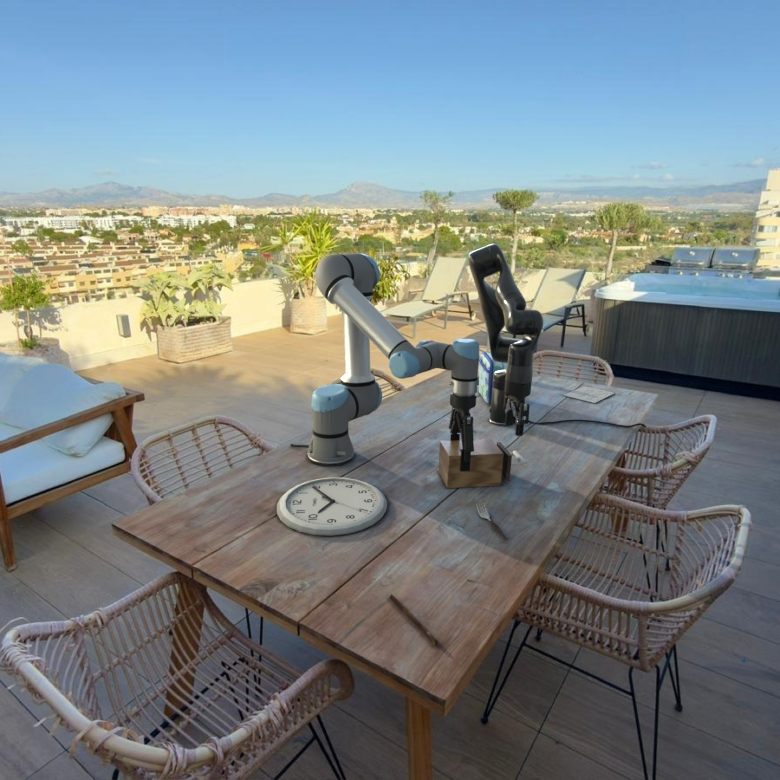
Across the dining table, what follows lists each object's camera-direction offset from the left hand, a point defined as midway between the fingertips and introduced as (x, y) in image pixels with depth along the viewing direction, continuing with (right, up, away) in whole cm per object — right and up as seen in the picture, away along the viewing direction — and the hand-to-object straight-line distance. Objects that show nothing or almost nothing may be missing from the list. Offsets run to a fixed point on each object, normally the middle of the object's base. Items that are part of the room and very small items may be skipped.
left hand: (459, 462), depth 157 cm
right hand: (+16, +10, 0) cm, 19 cm away
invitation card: (+72, +19, +85) cm, 113 cm away
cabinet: (+3, -5, +2) cm, 6 cm away
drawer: (+9, -4, +3) cm, 11 cm away
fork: (+5, -13, -23) cm, 27 cm away
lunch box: (+24, +17, +76) cm, 82 cm away
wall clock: (-37, -10, -15) cm, 41 cm away
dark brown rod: (-17, -23, -56) cm, 63 cm away
